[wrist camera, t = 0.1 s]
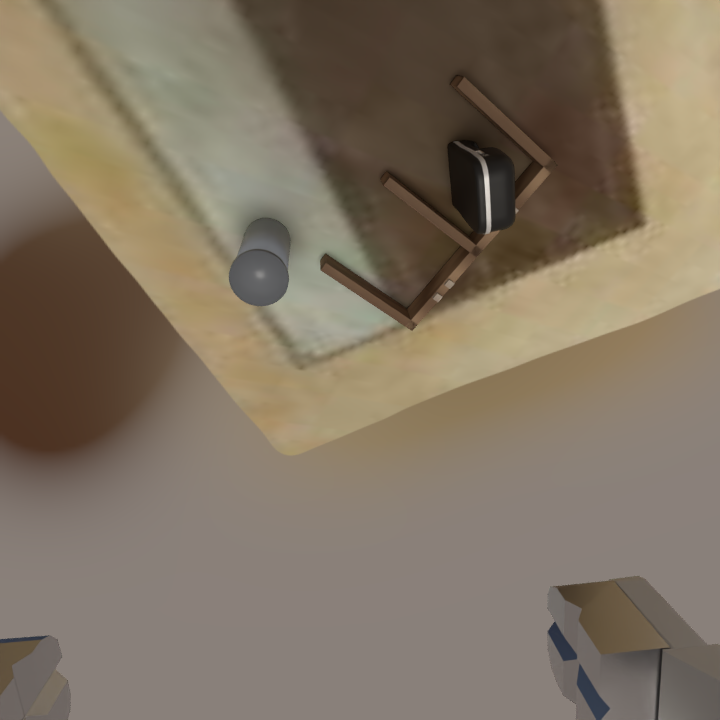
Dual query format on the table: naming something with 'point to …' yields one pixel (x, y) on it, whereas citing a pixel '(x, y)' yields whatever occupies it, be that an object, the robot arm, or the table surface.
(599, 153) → the table surface
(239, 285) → the canister
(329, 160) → the table surface
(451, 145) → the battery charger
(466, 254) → the dock
